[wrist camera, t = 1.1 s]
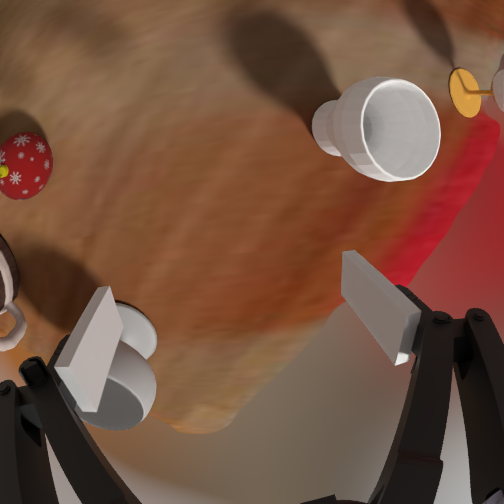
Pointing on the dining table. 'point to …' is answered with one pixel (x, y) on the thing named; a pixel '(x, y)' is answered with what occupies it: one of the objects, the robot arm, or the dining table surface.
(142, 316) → the chalice
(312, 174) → the dining table surface
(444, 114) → the dining table surface
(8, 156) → the christmas ornament
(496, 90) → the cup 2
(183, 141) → the dining table surface
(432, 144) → the cup
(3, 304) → the mug
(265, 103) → the dining table surface
